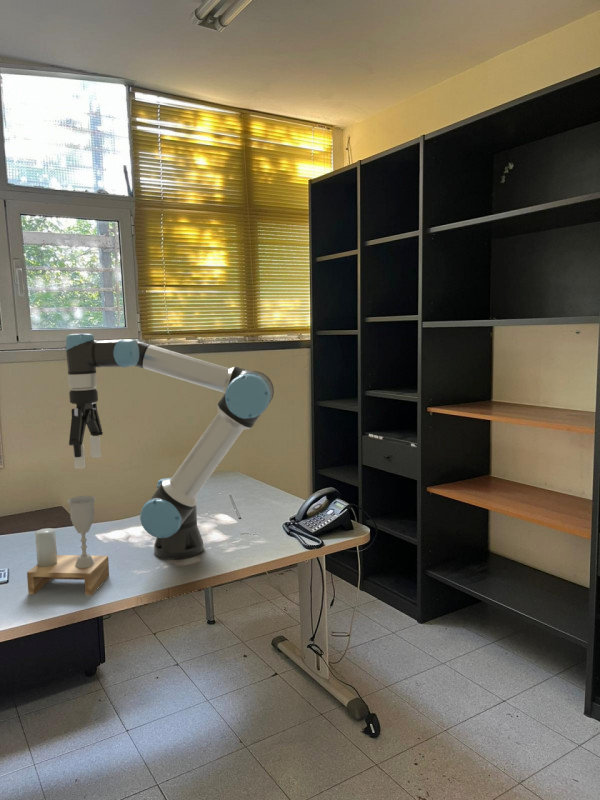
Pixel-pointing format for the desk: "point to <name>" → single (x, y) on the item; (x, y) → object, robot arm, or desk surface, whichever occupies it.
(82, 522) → the chalice
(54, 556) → the white glossy rounded part
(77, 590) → the desk surface
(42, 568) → the shelf
